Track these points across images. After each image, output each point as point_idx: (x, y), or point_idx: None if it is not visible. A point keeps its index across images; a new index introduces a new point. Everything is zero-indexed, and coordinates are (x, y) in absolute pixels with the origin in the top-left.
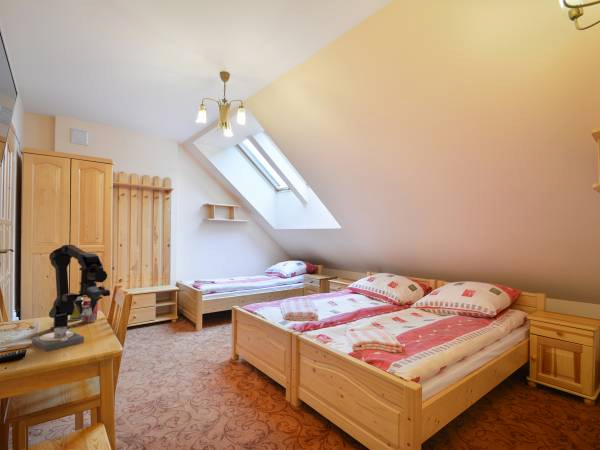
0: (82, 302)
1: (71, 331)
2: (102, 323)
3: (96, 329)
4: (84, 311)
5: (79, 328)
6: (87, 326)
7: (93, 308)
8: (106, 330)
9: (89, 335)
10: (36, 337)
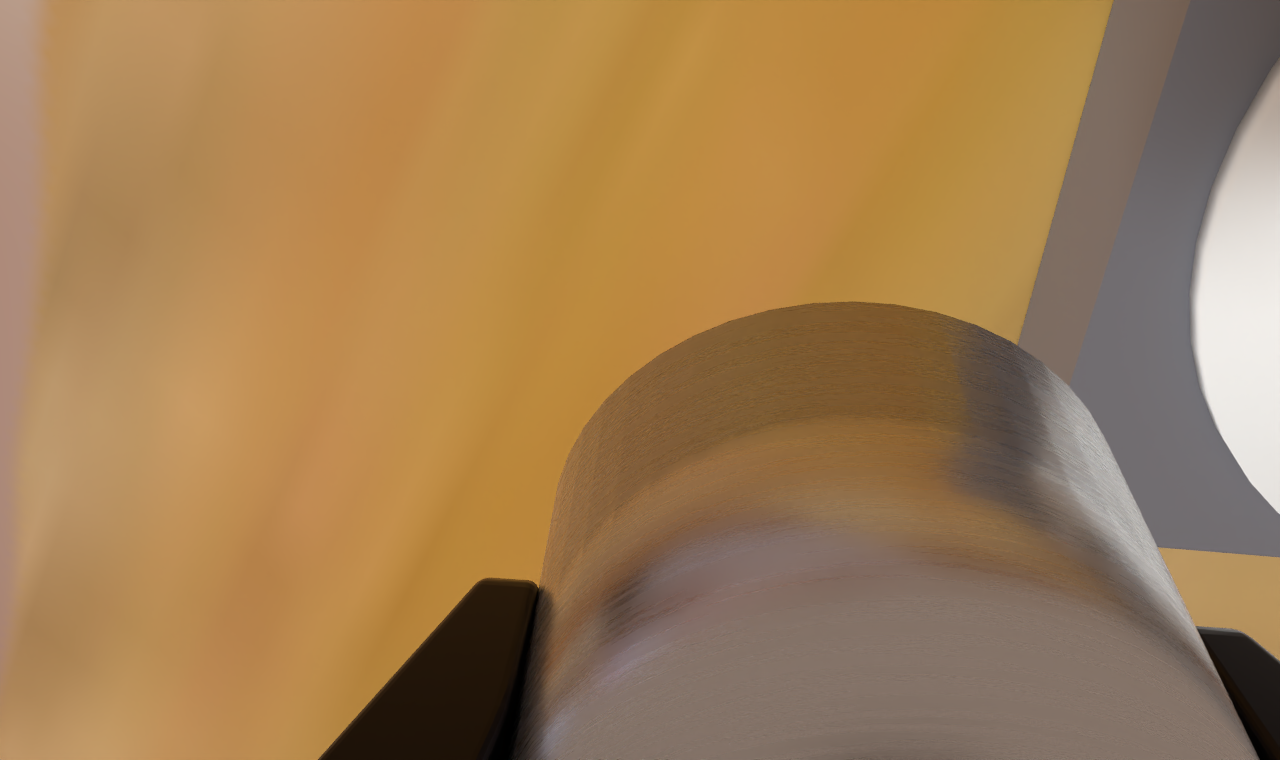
0: None
1: (1088, 381)
2: (37, 688)
3: (308, 389)
4: (1174, 615)
5: None
6: None
7: (400, 727)
8: (126, 81)
9: (695, 8)
10: None
